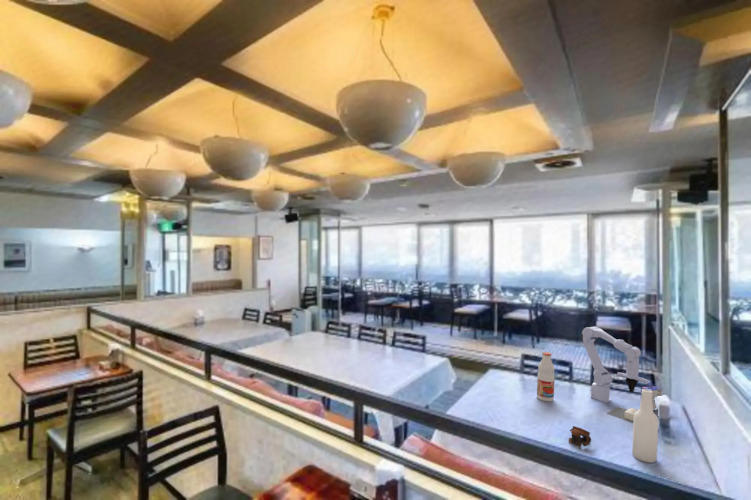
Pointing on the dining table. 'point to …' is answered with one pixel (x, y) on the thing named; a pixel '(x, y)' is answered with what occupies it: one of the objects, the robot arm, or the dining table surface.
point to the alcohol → (645, 430)
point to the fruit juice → (545, 378)
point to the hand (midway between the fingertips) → (631, 391)
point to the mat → (619, 413)
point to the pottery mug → (578, 439)
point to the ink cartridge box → (655, 391)
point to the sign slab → (630, 414)
